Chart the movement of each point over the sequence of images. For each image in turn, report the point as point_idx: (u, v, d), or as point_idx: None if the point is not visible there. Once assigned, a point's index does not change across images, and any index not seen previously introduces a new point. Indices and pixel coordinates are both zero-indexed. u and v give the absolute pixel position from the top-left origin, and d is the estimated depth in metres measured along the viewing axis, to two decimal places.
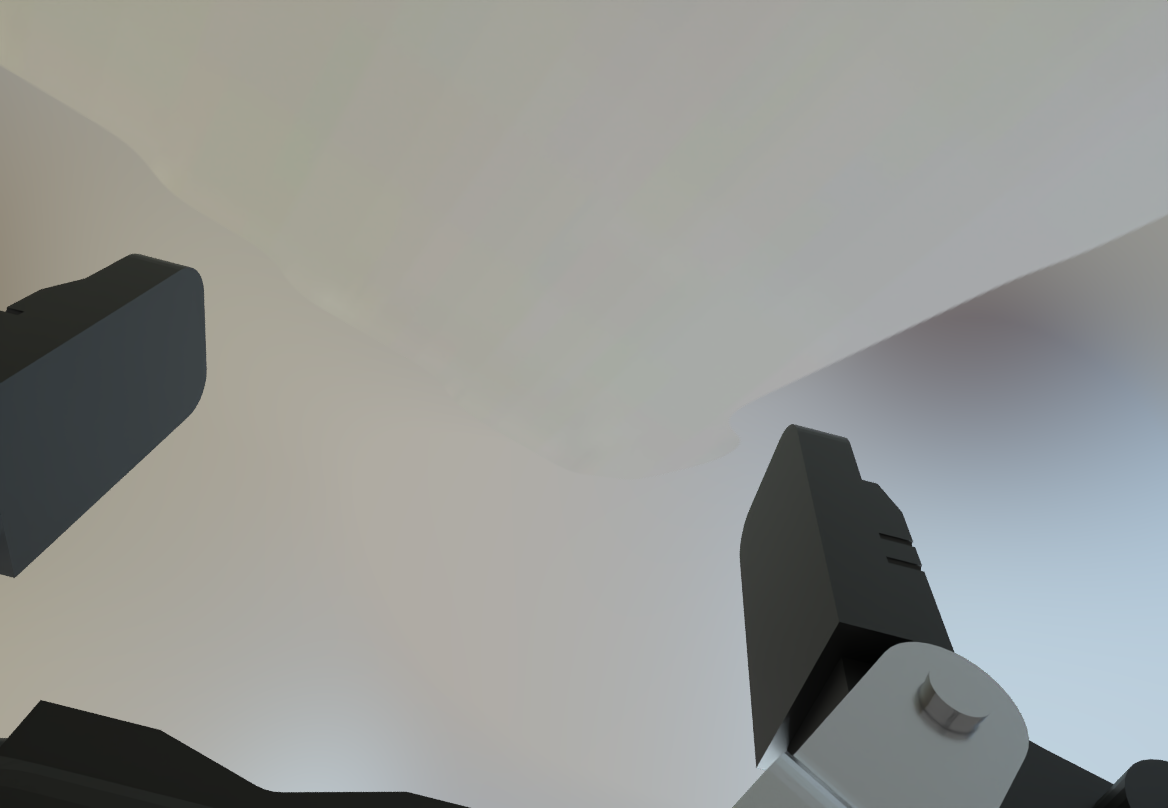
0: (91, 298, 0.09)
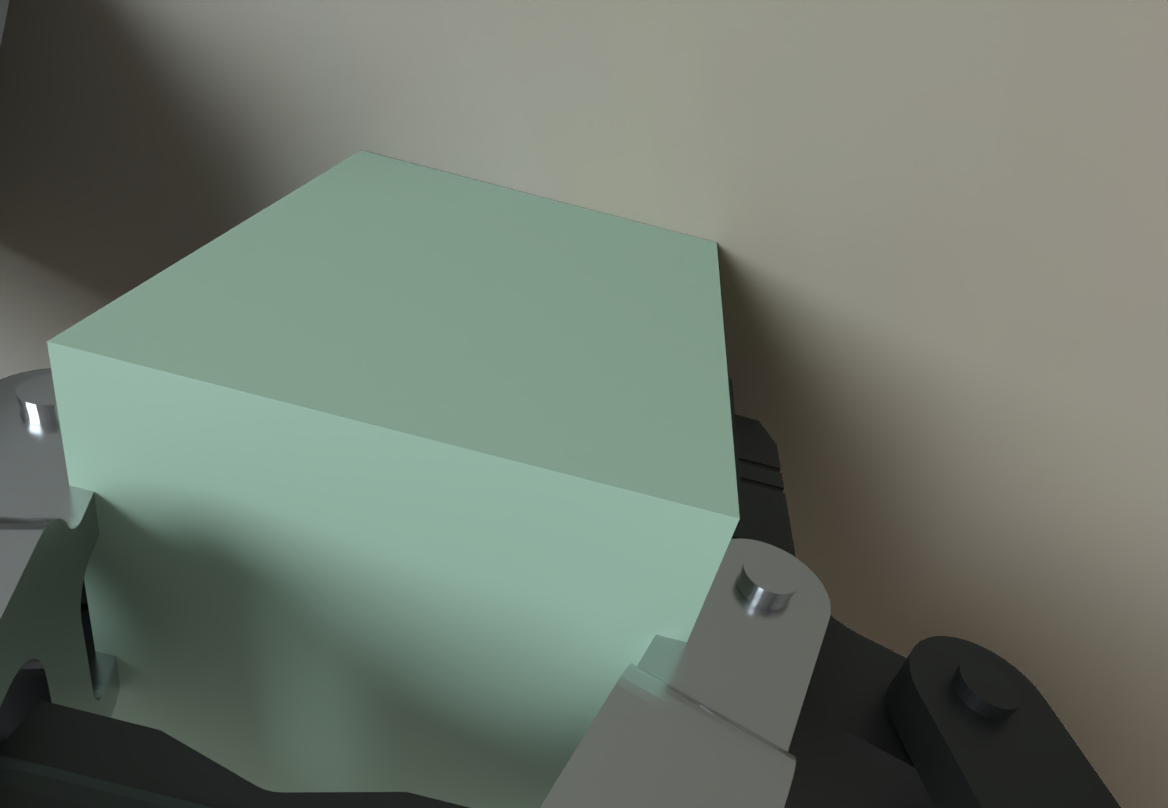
0: None
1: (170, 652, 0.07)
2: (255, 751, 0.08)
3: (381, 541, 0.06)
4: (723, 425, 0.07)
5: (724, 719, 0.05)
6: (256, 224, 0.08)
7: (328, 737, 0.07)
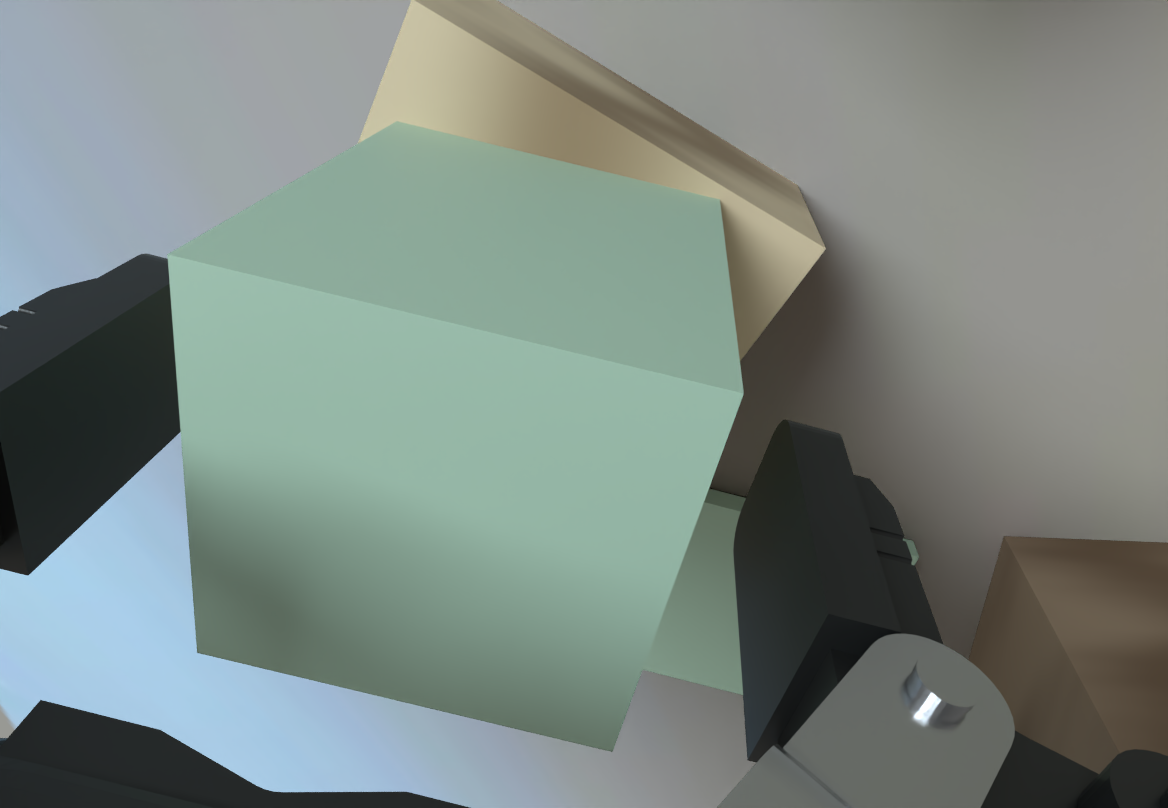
0: (103, 298, 0.09)
1: (254, 539, 0.08)
2: (324, 633, 0.09)
3: (442, 425, 0.07)
4: (729, 331, 0.08)
5: None
6: (318, 175, 0.09)
7: (390, 617, 0.08)
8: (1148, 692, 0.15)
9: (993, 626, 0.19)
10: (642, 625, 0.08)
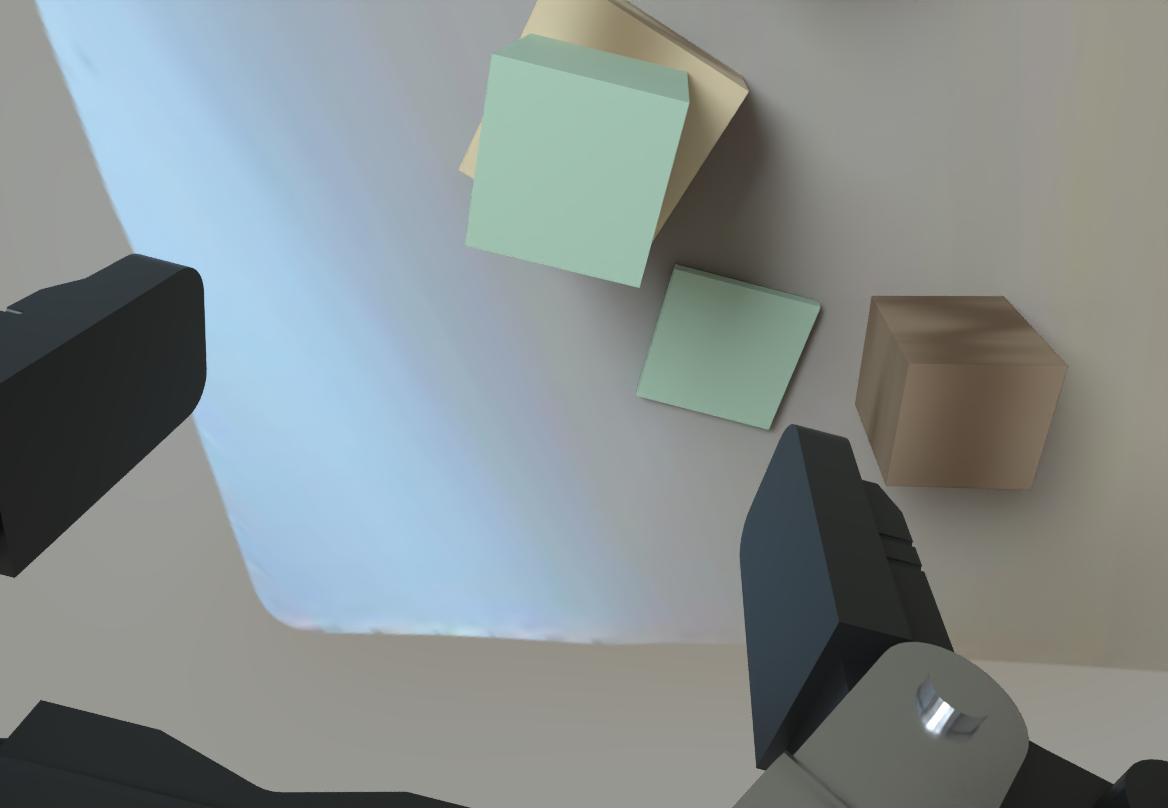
0: (91, 298, 0.09)
1: (501, 180, 0.21)
2: (522, 229, 0.21)
3: (581, 121, 0.20)
4: (686, 94, 0.20)
5: None
6: (517, 43, 0.22)
7: (551, 218, 0.21)
8: (931, 344, 0.27)
9: (867, 354, 0.32)
10: (653, 214, 0.21)
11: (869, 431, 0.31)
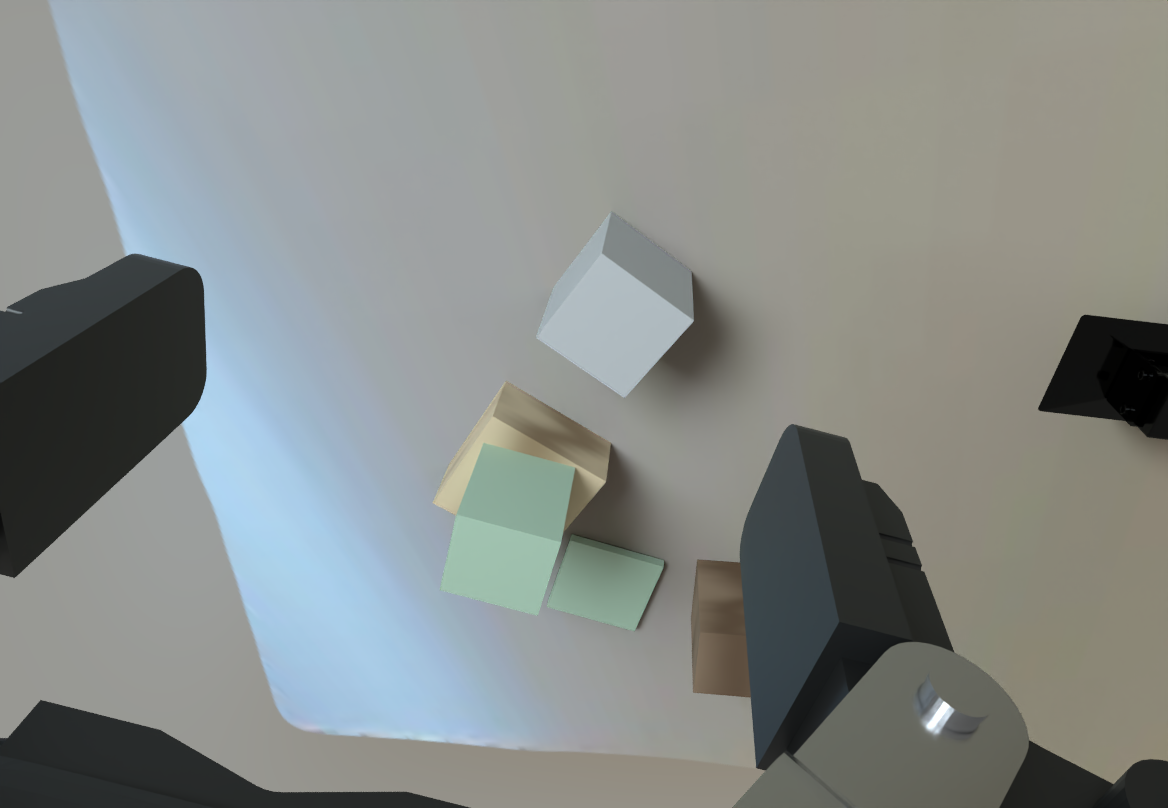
0: (91, 298, 0.09)
1: (460, 564, 0.37)
2: (472, 585, 0.38)
3: (504, 544, 0.37)
4: (562, 525, 0.37)
5: None
6: (472, 479, 0.38)
7: (488, 582, 0.38)
8: (719, 614, 0.45)
9: (694, 594, 0.49)
10: (543, 585, 0.38)
11: (692, 646, 0.48)
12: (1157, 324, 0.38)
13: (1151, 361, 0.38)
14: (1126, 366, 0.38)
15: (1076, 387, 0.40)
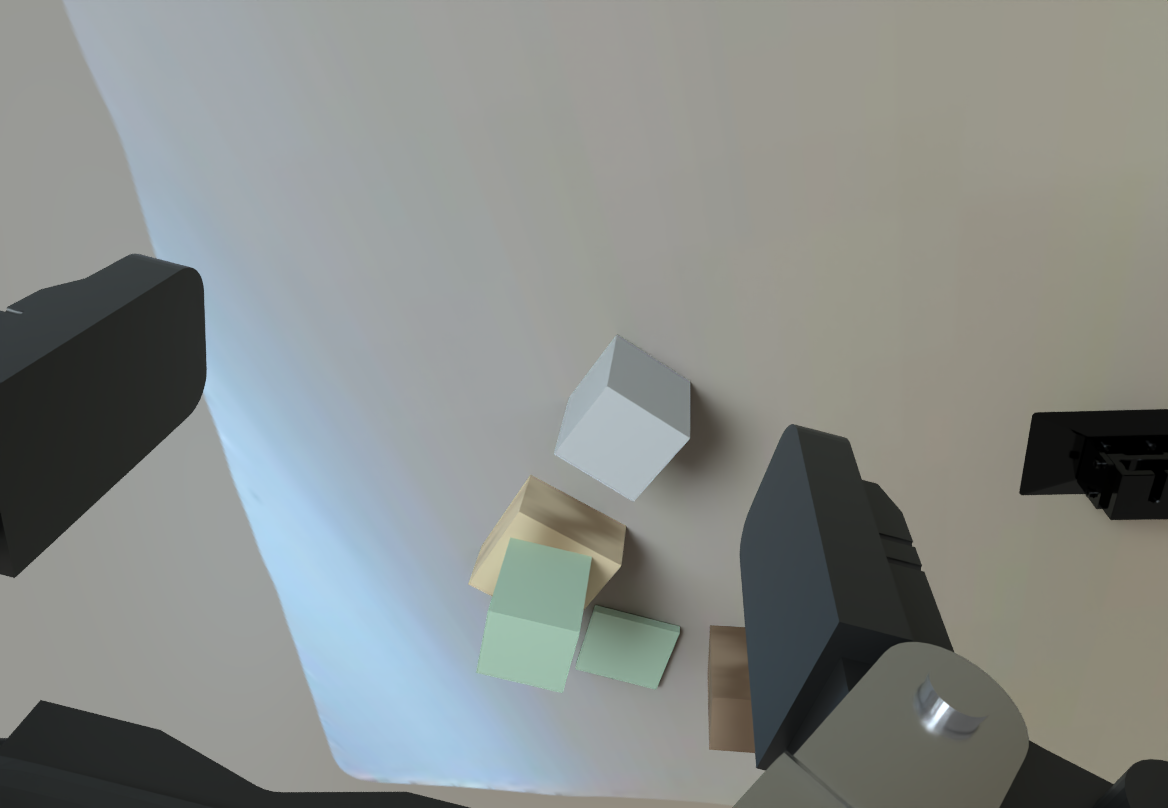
0: (91, 298, 0.09)
1: (493, 651, 0.43)
2: (504, 668, 0.43)
3: (530, 634, 0.42)
4: (581, 615, 0.42)
5: None
6: (501, 575, 0.44)
7: (517, 665, 0.43)
8: (729, 679, 0.49)
9: (709, 656, 0.54)
10: (566, 667, 0.43)
11: (708, 705, 0.53)
12: (1107, 412, 0.42)
13: (1108, 446, 0.42)
14: (1085, 453, 0.42)
15: (1047, 473, 0.44)
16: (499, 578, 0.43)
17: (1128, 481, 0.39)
